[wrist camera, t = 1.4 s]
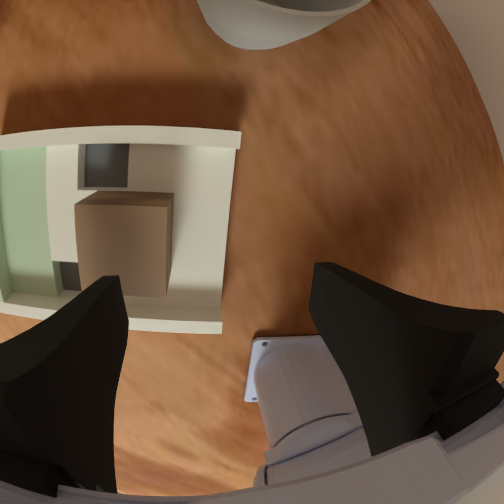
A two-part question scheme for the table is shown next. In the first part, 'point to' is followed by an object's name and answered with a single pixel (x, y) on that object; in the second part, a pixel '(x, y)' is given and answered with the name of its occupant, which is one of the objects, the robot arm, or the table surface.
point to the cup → (272, 19)
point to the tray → (115, 179)
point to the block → (126, 240)
